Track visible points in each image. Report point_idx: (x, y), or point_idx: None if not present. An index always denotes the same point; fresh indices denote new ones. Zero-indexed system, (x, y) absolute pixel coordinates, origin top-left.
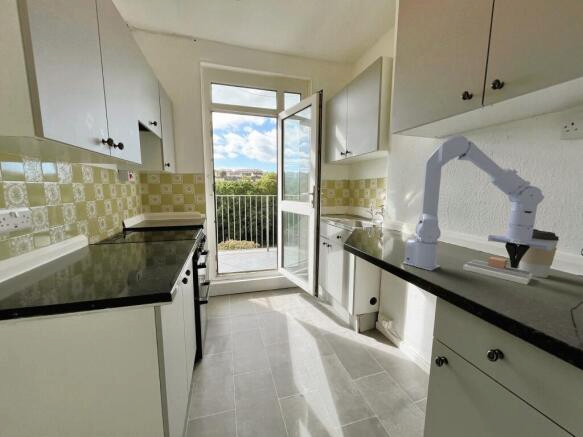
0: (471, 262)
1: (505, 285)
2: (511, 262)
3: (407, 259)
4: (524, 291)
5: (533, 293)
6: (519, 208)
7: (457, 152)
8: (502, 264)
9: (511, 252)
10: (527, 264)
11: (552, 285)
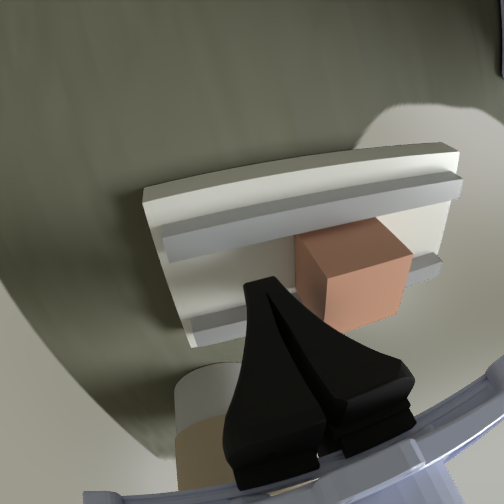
0: (433, 252)
1: (208, 17)
2: (287, 295)
3: None
4: (97, 13)
5: (57, 34)
6: None
7: None
8: (325, 258)
9: (332, 353)
10: None
11: (98, 314)
